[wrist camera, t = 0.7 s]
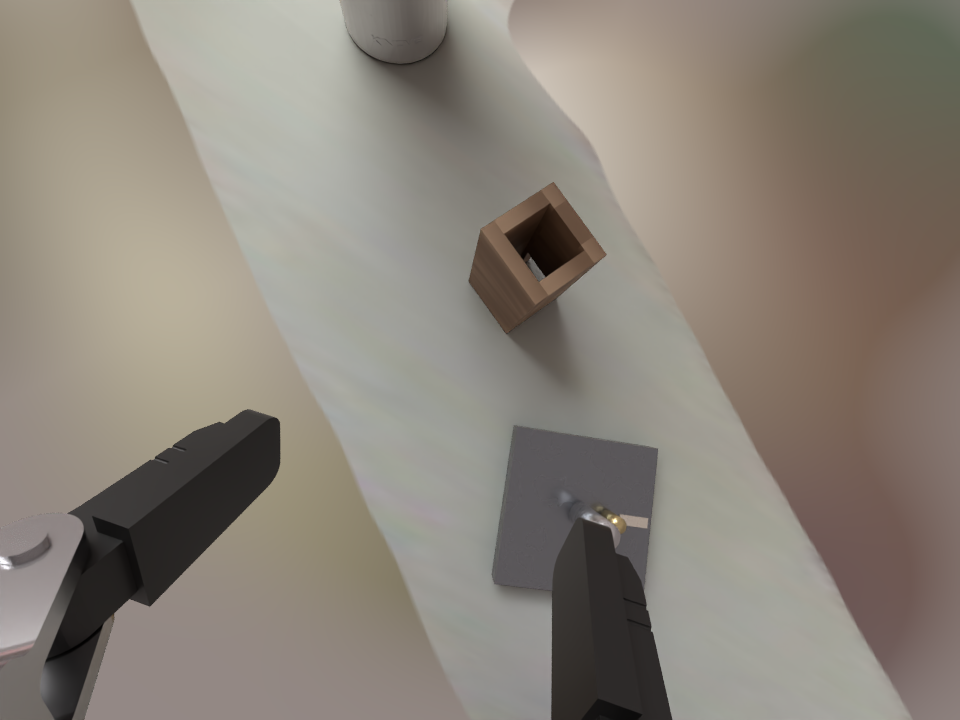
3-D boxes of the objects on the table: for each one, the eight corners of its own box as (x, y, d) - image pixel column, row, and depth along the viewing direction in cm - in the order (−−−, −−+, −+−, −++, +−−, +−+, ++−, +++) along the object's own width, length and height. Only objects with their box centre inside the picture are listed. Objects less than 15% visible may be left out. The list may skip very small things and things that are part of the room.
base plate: (491, 574, 30) (505, 623, 23) (513, 425, 31) (532, 432, 25) (632, 591, 31) (683, 643, 24) (647, 446, 32) (699, 458, 26)
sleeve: (506, 333, 32) (535, 304, 22) (468, 281, 32) (480, 229, 22) (556, 298, 33) (606, 254, 23) (519, 247, 33) (553, 181, 23)
